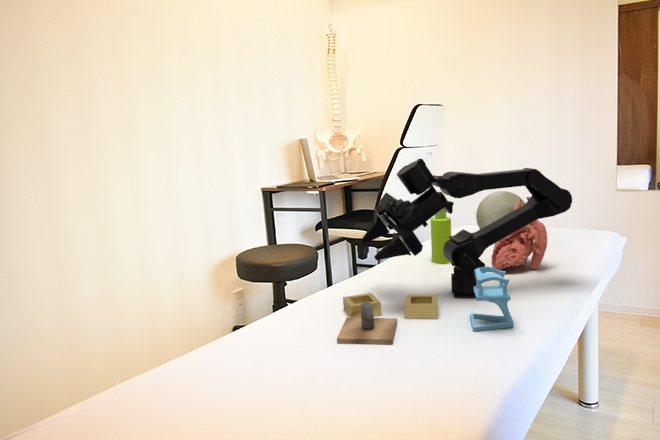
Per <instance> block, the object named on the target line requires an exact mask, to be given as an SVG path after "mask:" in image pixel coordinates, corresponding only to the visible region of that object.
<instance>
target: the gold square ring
mask: <svg viewBox="0 0 660 440" xmlns="http://www.w3.org/2000/svg"><path fill="white" fill-rule="evenodd" d="M438 302H439V299H438V294H406V295H405V301H404V318H405V319H416V320H417V319H420V320H421V319H422V320H423V319H424V320H427V319H428V320H431V319H432V320H435V319H436V320H438V318H439V317H438V315H439V303H438Z"/></svg>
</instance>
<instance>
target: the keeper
mask: <svg viewBox="0 0 660 440" xmlns="http://www.w3.org/2000/svg"><path fill="white" fill-rule="evenodd" d="M360 308H361V318H350V317H346V318H345V320H344V322H343V324H342V327H341V329H340V331H339V333H338V335H337V337H336V343H337V344H351V345H352V344H355V345H357V344H358V345H359V344H360V345H391V346H392V345H393V344H394V339H395V334H396V330H397V325H398V318H396V317H394V318H393V317H392V318H391V317H390V318H389V317H375V316H374V313H373V304H372V303H363V304H361V305H360Z"/></svg>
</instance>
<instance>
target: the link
mask: <svg viewBox="0 0 660 440" xmlns="http://www.w3.org/2000/svg"><path fill="white" fill-rule="evenodd" d="M342 301H343V302H342V303H343V310H344V312H345V313H346V315H347V316H348V318H361V308H360V305H361V304H363V303H372V304H373V313H374V317H379V316H382V302H381V301H380V300H379V299H378V298H377V297H376V296H375V295H374V294H373V293H372V292H368V293H364V294H356V295H350V296H349V295H348V296H342Z"/></svg>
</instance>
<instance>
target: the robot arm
mask: <svg viewBox="0 0 660 440" xmlns="http://www.w3.org/2000/svg"><path fill="white" fill-rule="evenodd" d="M396 176H397V178H398V179H399V181H400V182H401V183H402V185H403V186H404V187H405V189H406V190H407V191H408V193H409V194H410V195H414V194H415V195H416V196H418V197H417V198H415V199H413V200H412V201H410V200H405V201H404V200H403V199H402V198H400V199H397V198H395V197H394V196H393V195H391V194H390V193H389V192H385V193H384V194H383V196H382V197H381V198H380V200H379V201H378V205H377V206H375V207H374V208H373V209H374V212H373V215H374V216H373V221H372V223H371V225H370V227H369V228H368V230H366V232H365V234H364V235H363V237H362V238H361V239H360V241H361V243H362V244H366V243H369V242H371V241H374V240H376V239H379V238H381V237H383V236H385V235H387V234H390V233H391V232H390V231H392V230H394V231H395V232H394V231H393V233H392V237H391V240H390V241H389V242H387V244H386V245H384V247H382V248H381V249H380V250H379V251H378V252H377V253H376V254H375V255H374V256H373V258H374V259H375V260H376V261H381V260H385V259H390V258H395V257H402V256H407V255H408V256H411V255H413V256H414V257H416V256H417V255H419V254H420V253H422V251H423V247H424V245H423V244H422V243H421V241H420V240H419V238H418V237H417V235H416V234H415V231H416V230H417V229H419V228H420V227H421V226H423V228H426V227H427V226H428V225H429V224H428V222H427V221H429V220H431V218H434V217H435V214H437V213H438V212H439V211H441V210H442V209H444V210H445V212H446V213H448V214H450V215H451V214H452V213H453V212H454V211H453V208H454V207H453V206H454V205H455V204H454V202H453V201H450V200H448V199H447V197H446V196H449V197H452V198H454V199H462V198H466V197H469V196H472V195H473V196H474V194H478V193H479V192H482V191H489V190H499V189H507V188H509V189H510V188H518V187H525V188H526V189H527V191H528V192H529V193H530V194H531V196H529V197H530V199H529V200H527V201H526V202H525V203H526V204H525V205H523V206H521V207H520V208H518V209H516V210H514V211H512V212H511V213H509V214H507V215H505V216H503V217H502V218H500V219H498V220H496V221H494V222H493V223H491V224H489V225H487V226H486V227H484V228H482V229H480V228H479V230H477V231H475V232H470V231H467V230H465V228H463V229H461V230H460V231H458V232H457V233H455V234H454V235H451V236H449V238H450V239H449V240H448V241H446V242H445V244H444V247H443V253H444V256H445V257H446V258H447V259H448V260H449V261H450V262H451V263H450V264H451V266H452V267H453V272H452V273H451V275H450V277H451V280H450V281H451V282H450V283H451V284H450V285H451V293H452V294H453V297H454V298H476V296H475V293H474V286H476V284H477V282H476V277H475V272H474V270H475V269H477V268H481V267H486V264H485V262H484V261H482V260H481V259H480V257H481V256H482V255H483V254H484V252H485V251H486V249H487V248H489V247H491V246H493V245H495V243H496V242H498V241H500V240H502V239H503V238H505V237H507V236H509V235H511V234H512V233H514V232H516V231H518V230H520V229H521V228H523V227H525V226H527V225H528V224H530V223H532V222H534V221H536V220H538V221H539V220H541V219H546V218H550V217H555V216H557V215H560V214H563V213H566V212H567V211H569V209H571V206H572V203H573V197H572V193H571V192H570V191H569V190H567V189H564V188H561V187H560V186H559V185H558V184H556V183H555V182H553V181H552V180H551V179H549V178H548V177H547V176H545V175H544V174H543V173H542V172H541V171H540V170H539V169H536V168H532V167H524V168H521V169H513V170H512V169H511V170H504V171H503V170H502V171H493V172H492V171H491V172H485V173H484V172H483V173H472V172H471V173H470V172H462V171H461V172H460V171H459V172H458V171H447V172H445V173H443V174H442V175H435V174H432V173H431V170H430V169H429V168H428V166H427V164H426V162H425V161H424V159H423V158H418V159H417V160H414V161H413V162H410V163H409V164H405V165H404V166H403V167H402V168H400V169H399V170H398V171H397V172H396ZM435 187H437V188H439V190H440V191H437V190H436V188H435ZM444 195H445V196H444ZM397 234H398V235H397Z"/></svg>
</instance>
